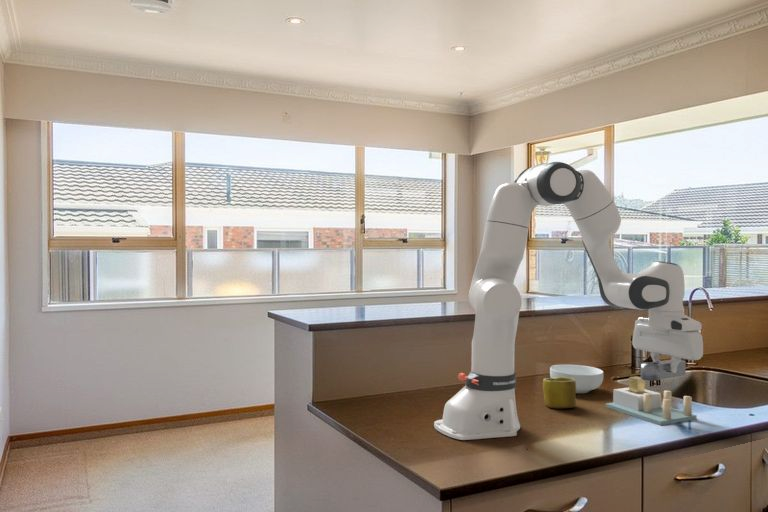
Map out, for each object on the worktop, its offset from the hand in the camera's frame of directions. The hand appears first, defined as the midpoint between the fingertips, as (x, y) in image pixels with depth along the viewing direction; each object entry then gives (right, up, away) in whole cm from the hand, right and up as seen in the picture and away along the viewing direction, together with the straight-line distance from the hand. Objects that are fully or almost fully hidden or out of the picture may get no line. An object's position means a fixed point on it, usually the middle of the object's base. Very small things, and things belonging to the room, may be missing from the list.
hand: (665, 370), depth 161 cm
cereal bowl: (-15, -13, +30) cm, 36 cm away
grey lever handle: (-1, -2, 0) cm, 2 cm away
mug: (-26, -13, +13) cm, 31 cm away
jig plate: (-2, -13, +5) cm, 14 cm away
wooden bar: (-4, -12, +9) cm, 15 cm away
